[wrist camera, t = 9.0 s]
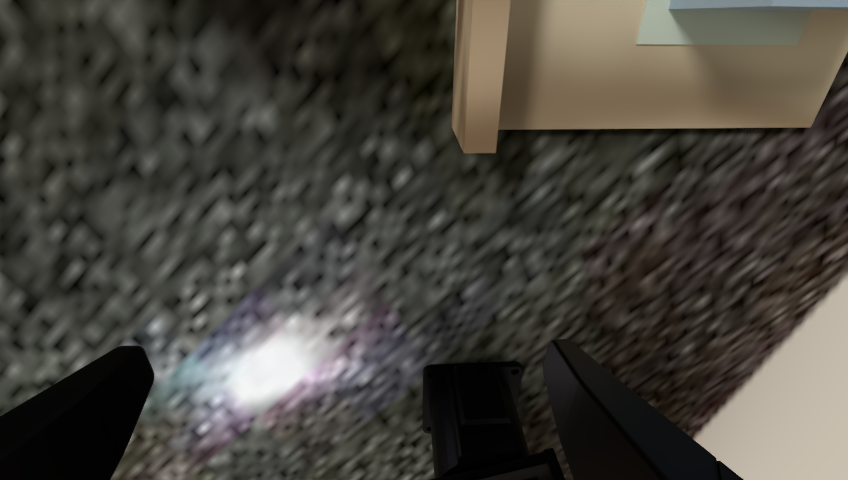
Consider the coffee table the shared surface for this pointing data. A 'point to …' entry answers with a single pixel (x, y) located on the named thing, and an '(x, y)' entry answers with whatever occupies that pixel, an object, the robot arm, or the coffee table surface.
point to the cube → (760, 5)
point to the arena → (637, 66)
